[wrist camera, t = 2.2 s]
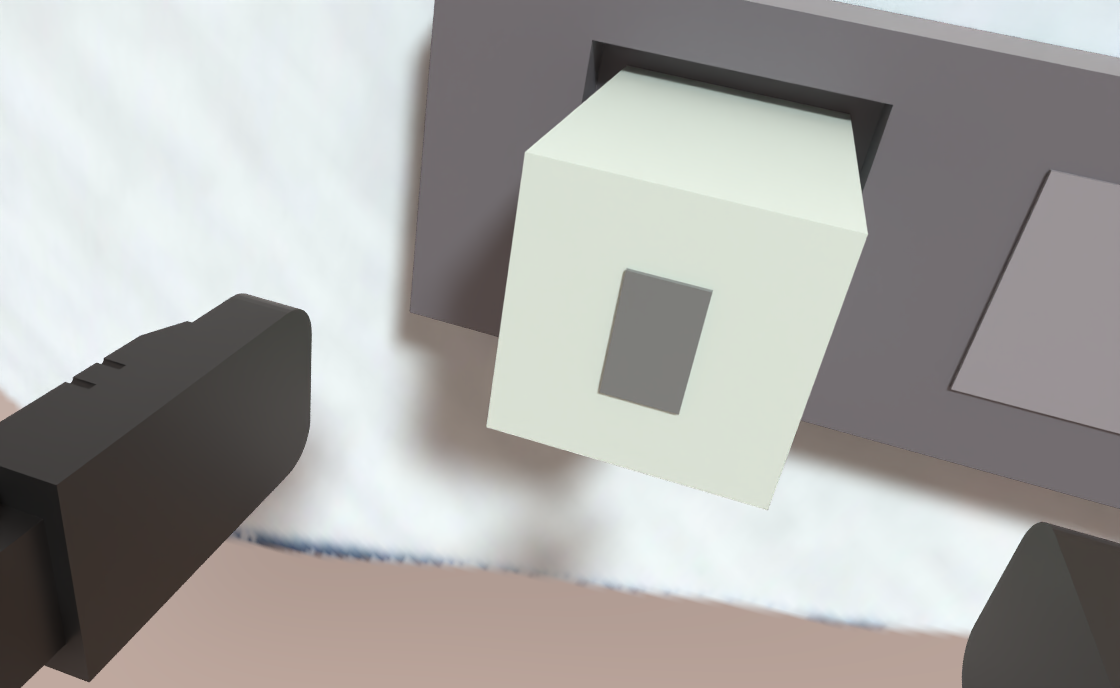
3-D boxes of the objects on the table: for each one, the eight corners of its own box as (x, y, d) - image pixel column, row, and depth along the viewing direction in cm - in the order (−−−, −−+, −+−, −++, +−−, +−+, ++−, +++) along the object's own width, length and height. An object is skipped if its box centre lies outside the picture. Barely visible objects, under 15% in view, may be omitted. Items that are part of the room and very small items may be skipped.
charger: (588, 265, 19) (485, 429, 13) (627, 65, 17) (523, 153, 11) (783, 316, 19) (767, 513, 13) (849, 114, 17) (867, 236, 11)
